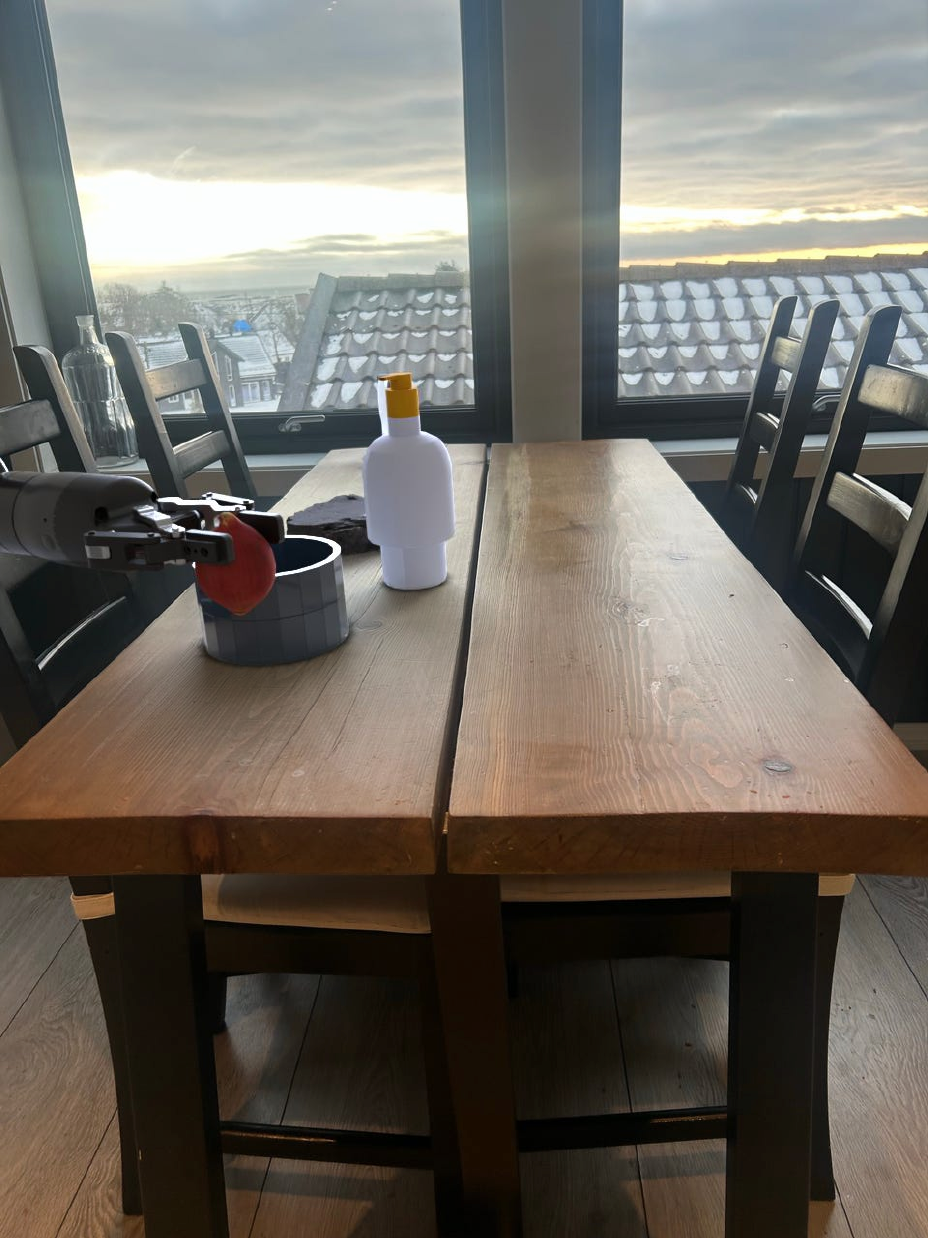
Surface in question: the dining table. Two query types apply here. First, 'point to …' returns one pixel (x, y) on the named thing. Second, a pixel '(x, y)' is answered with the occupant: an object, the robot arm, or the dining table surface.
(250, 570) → the onion
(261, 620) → the pot
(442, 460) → the soap bottle
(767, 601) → the dining table surface
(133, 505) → the robot arm
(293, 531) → the rock sample
